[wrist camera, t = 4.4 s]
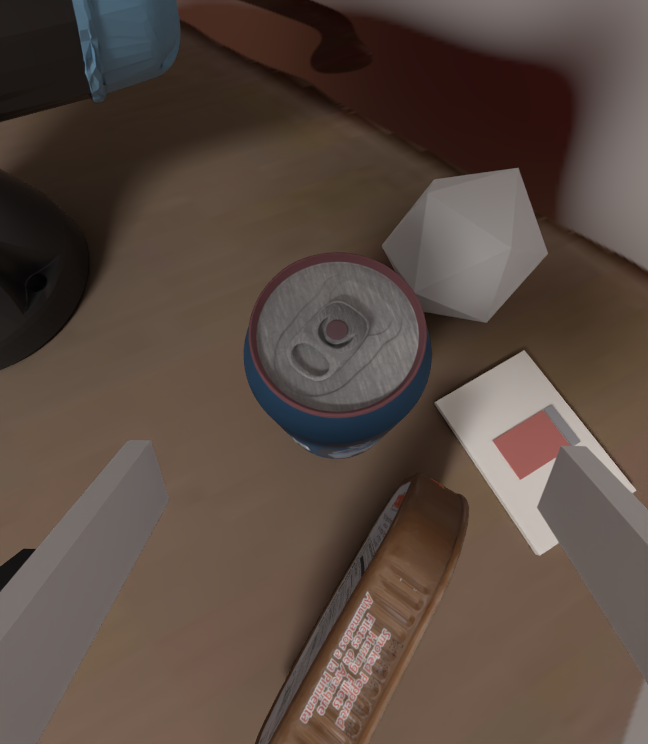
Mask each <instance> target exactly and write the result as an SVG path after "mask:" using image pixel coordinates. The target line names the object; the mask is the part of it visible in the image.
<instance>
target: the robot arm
mask: <svg viewBox="0 0 648 744" xmlns="http://www.w3.org/2000/svg"><path fill="white" fill-rule="evenodd" d="M179 45H180V20H179V14H178V8H177V3H176V0H0V122H3V121H6V120H10V119H14V118H18V117H22V116H25V115H29V114H33V113H37V112H41V111H44V110H48V109H52V108H56V107H59V106H63V105H67V104H71V103H75V102H78V101H82V100H86V99H90V98H91V99H92V100H93V102H94V103H99V102H102V101H104V100H105V98H106V95H107V94H108V93H111V92H114V91H117V90H120V89H123V88H126V87H129V86H132V85H135V84H138V83H141V82H144V81H147V80H150V79H154V78H156V77H159V76H161V75H162V74H164V73H165V72H167V71H168V70H169V69H170V68H171V66H172V65H173V63H174V61H175V59H176V57H177V54H178V50H179ZM88 269H89V256H88V249H87V245H86V242H85V239H84V237H83V235H82V233H81V231H80V229H79V228H78V226H77V225H76V224H75V223H74V222H73V221H72V219H71V218H69V217H68V216H67V215H66V214H65V213H64V212H63V211H62V210H61V209H60V208H59V207H58V206H57V205H56V204H55V203H54V202H53V201H52V200H51V199H50V198H48V197H47V196H46V195H44V194H43V193H42V192H40V191H39V190H37V189H35V188H33V187H32V186H30V185H28V184H26V183H24V182H23V181H21V180H19V179H17V178H15V177H14V176H12V175H10V174H8V173H6V172H5V171H3V170H1V169H0V370H1V369H3V368H6V367H8V366H10V365H13V364H14V363H16V362H18V361H20V360H22V359H24V358H25V357H27V356H29V355H30V354H32V353H33V352H35V351H36V350H37V349H39V348H40V347H41V346H42V345H44V344H45V343H46V342H47V341H48V340H49V339H51V338H52V337H53V336H54V335H55V334H56V333H57V332H58V330H59V329H60V328H61V327H62V326H63V325H64V323H65V322H66V321H67V320H68V318H69V317H70V315H71V314H72V312H73V311H74V309H75V308H76V306H77V304H78V302H79V300H80V298H81V296H82V293H83V290H84V288H85V284H86V281H87V276H88ZM168 502H169V498H168V494H167V491H166V488H165V485H164V481H163V478H162V475H161V472H160V468H159V465H158V462H157V459H156V455H155V452H154V449H153V445H152V442H151V440H128V441H127V442H126V443H125V444H124V445H123V447H122V448H121V449H120V450H119V451H118V453H117V454H116V455H115V456H114V457H113V458H112V460H111V461H110V462H109V463H108V464H107V466H106V467H105V468H104V469H103V470H102V472H101V473H100V474H99V475H98V476H97V478H96V479H95V480H94V481H93V482H92V483H91V485H90V486H89V487H88V488H87V489H86V491H85V492H84V493H83V494H82V495H81V497H80V498H79V499H78V500H77V501H76V502H75V504H74V505H73V506H72V507H71V508H70V510H69V511H68V512H67V513H66V514H65V516H64V517H63V518H62V519H61V520H60V522H59V523H58V524H57V525H56V526H55V527H54V529H53V530H52V531H51V532H50V533H49V535H48V536H47V537H46V538H45V539H44V541H43V542H42V543H41V544H40V545H39V546H38V548H37V549H23V550H21V551H20V552H19V553H18V554H16V555H15V556H14V557H12V558H11V559H10V560H8V561H7V562H6V563H4V564H3V565H2V566H0V744H37V743H38V741H39V739H40V737H41V735H42V734H43V732H44V730H45V728H46V726H47V724H48V723H49V721H50V719H51V717H52V715H53V713H54V711H55V710H56V708H57V706H58V704H59V702H60V700H61V699H62V697H63V695H64V693H65V691H66V689H67V688H68V686H69V684H70V682H71V680H72V678H73V677H74V675H75V673H76V671H77V669H78V667H79V666H80V664H81V662H82V660H83V658H84V656H85V654H86V653H87V651H88V649H89V647H90V645H91V643H92V642H93V640H94V638H95V636H96V634H97V632H98V631H99V629H100V627H101V625H102V623H103V621H104V620H105V618H106V616H107V614H108V612H109V610H110V609H111V607H112V605H113V603H114V601H115V599H116V597H117V596H118V594H119V592H120V590H121V588H122V586H123V585H124V583H125V581H126V579H127V577H128V575H129V574H130V572H131V570H132V568H133V566H134V564H135V563H136V561H137V559H138V557H139V555H140V553H141V552H142V550H143V548H144V546H145V544H146V542H147V540H148V539H149V537H150V535H151V533H152V531H153V529H154V528H155V526H156V524H157V522H158V520H159V518H160V517H161V515H162V513H163V511H164V509H165V507H166V506H167V504H168ZM537 508H538V510H539V512H540V513H541V515H542V516H543V518H544V520H545V521H546V523H547V524H548V526H549V528H550V529H551V531H552V532H553V534H554V536H555V537H556V539H557V540H558V542H559V543H560V545H561V547H562V548H563V550H564V551H565V553H566V555H567V556H568V558H569V559H570V561H571V563H572V564H573V566H574V567H575V569H576V571H577V572H578V574H579V575H580V577H581V578H582V580H583V582H584V583H585V585H586V586H587V588H588V590H589V591H590V593H591V594H592V596H593V598H594V599H595V601H596V602H597V604H598V605H599V607H600V609H601V610H602V612H603V613H604V615H605V617H606V618H607V620H608V621H609V623H610V625H611V626H612V628H613V629H614V631H615V633H616V634H617V636H618V637H619V639H620V640H621V642H622V644H623V645H624V647H625V648H626V650H627V652H628V653H629V655H630V656H631V658H632V660H633V661H634V663H635V664H636V666H637V668H638V669H639V671H640V672H641V674H642V675H643V677H644V679H645V680H646V682H647V683H648V509H647V508H646V507H645V506H644V505H643V504H642V503H641V502H640V501H639V500H638V499H637V498H636V497H635V496H634V495H633V494H632V493H631V492H630V491H629V490H628V489H627V488H626V487H625V486H624V485H623V484H622V483H621V482H620V481H619V480H618V478H617V477H616V476H615V475H614V474H613V473H612V472H611V471H610V470H609V469H608V468H607V467H606V466H605V465H604V464H603V463H602V462H601V461H600V460H599V459H598V458H597V457H596V456H595V455H594V454H593V453H592V452H591V451H590V450H589V449H588V448H587V447H586V446H561V447H560V450H559V452H558V455H557V457H556V460H555V462H554V465H553V468H552V470H551V473H550V475H549V478H548V480H547V483H546V486H545V488H544V491H543V493H542V496H541V498H540V501H539V504H538V506H537Z"/></svg>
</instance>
